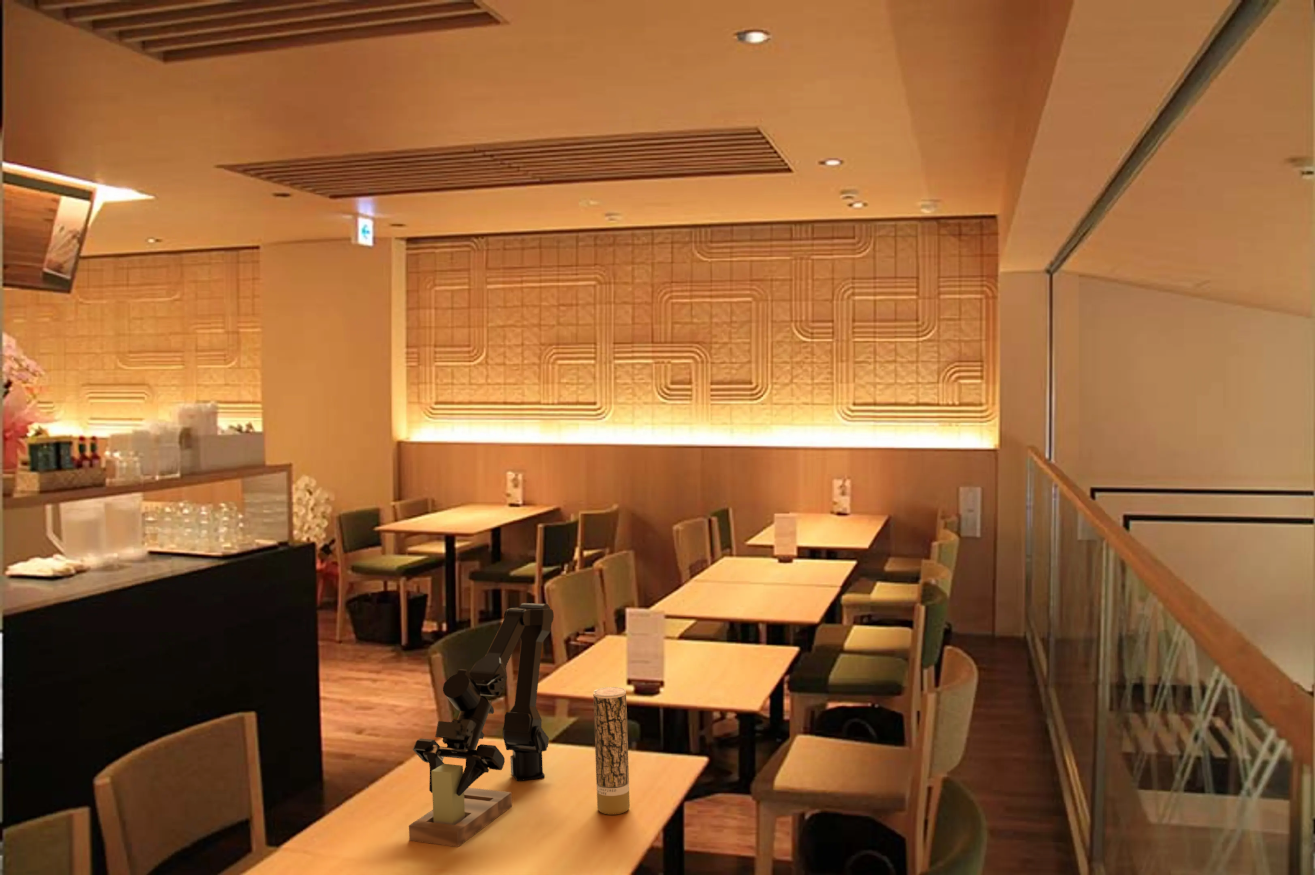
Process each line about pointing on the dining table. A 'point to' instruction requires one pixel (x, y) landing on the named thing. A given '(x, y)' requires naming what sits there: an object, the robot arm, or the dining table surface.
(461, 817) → the square bit
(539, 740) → the robot arm
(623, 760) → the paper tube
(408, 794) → the dining table surface
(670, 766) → the dining table surface
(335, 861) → the dining table surface
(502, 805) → the socket board
